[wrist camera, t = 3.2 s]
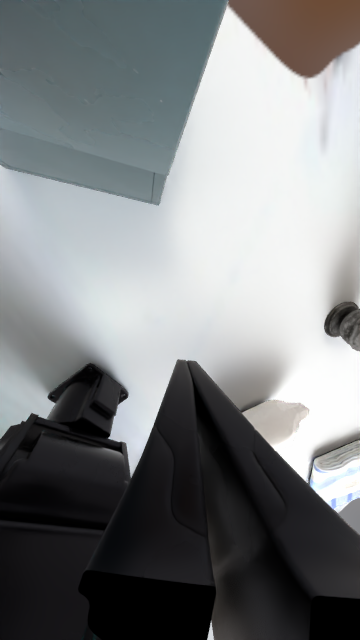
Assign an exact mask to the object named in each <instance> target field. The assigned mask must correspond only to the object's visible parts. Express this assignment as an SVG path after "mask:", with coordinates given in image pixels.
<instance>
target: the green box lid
mask: <svg viewBox="0 0 360 640" xmlns="http://www.w3.org/2000/svg"><path fill="white" fill-rule="evenodd" d="M228 1H229V0H0V128H2V129H6V130H9V131H13V132H16V133H20V134H23V135H27V136H30V137H34V138H37V139H41V140H44V141H47V142H51V143H54V144H58V145H61V146H65V147H68V148H72V149H75V150H79V151H82V152H86V153H89V154H93V155H96V156H100V157H103V158H107V159H110V160H114V161H117V162H120V163H124V164H127V165H131V166H134V167H138V168H141V169H145V170H148V171H152V172H155V173H159V174H162V175H166V176H168V174H169V172H170V169H171V166H172V163H173V160H174V157H175V154H176V151H177V149H178V146H179V143H180V140H181V137H182V134H183V131H184V128H185V126H186V123H187V120H188V117H189V114H190V111H191V108H192V105H193V102H194V100H195V97H196V94H197V91H198V88H199V85H200V82H201V79H202V76H203V74H204V71H205V68H206V65H207V62H208V59H209V56H210V53H211V51H212V48H213V45H214V42H215V39H216V36H217V33H218V30H219V27H220V25H221V22H222V19H223V16H224V13H225V10H226V7H227V4H228Z"/></svg>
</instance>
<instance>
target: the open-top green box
mask: <svg viewBox="0 0 360 640" xmlns="http://www.w3.org/2000/svg"><path fill="white" fill-rule="evenodd" d="M0 165H1V166H3V167H5V168H7V169H11V170H15V171H19V172H23V173H27V174H32V175H36V176H40V177H44V178H48V179H52V180H56V181H60V182H64V183H68V184H72V185H77V186H81V187H85V188H89V189H93V190H97V191H101V192H105V193H109V194H113V195H117V196H122V197H126V198H130V199H134V200H138V201H142V202H146V203H150V204H154V205H159V204H160V200H161V196H162V192H163V189H164V185H165V181H166V177H167V176H166V175H162V174H159V173H155V172H152V171H148V170H145V169H141V168H138V167H134V166H131V165H127V164H124V163H120V162H117V161H114V160H110V159H107V158H103V157H100V156H96V155H93V154H89V153H86V152H82V151H79V150H75V149H72V148H68V147H65V146H61V145H58V144H54V143H51V142H47V141H44V140H41V139H37V138H34V137H30V136H27V135H23V134H20V133H16V132H13V131H9V130H6V129H2V128H0Z"/></svg>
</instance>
